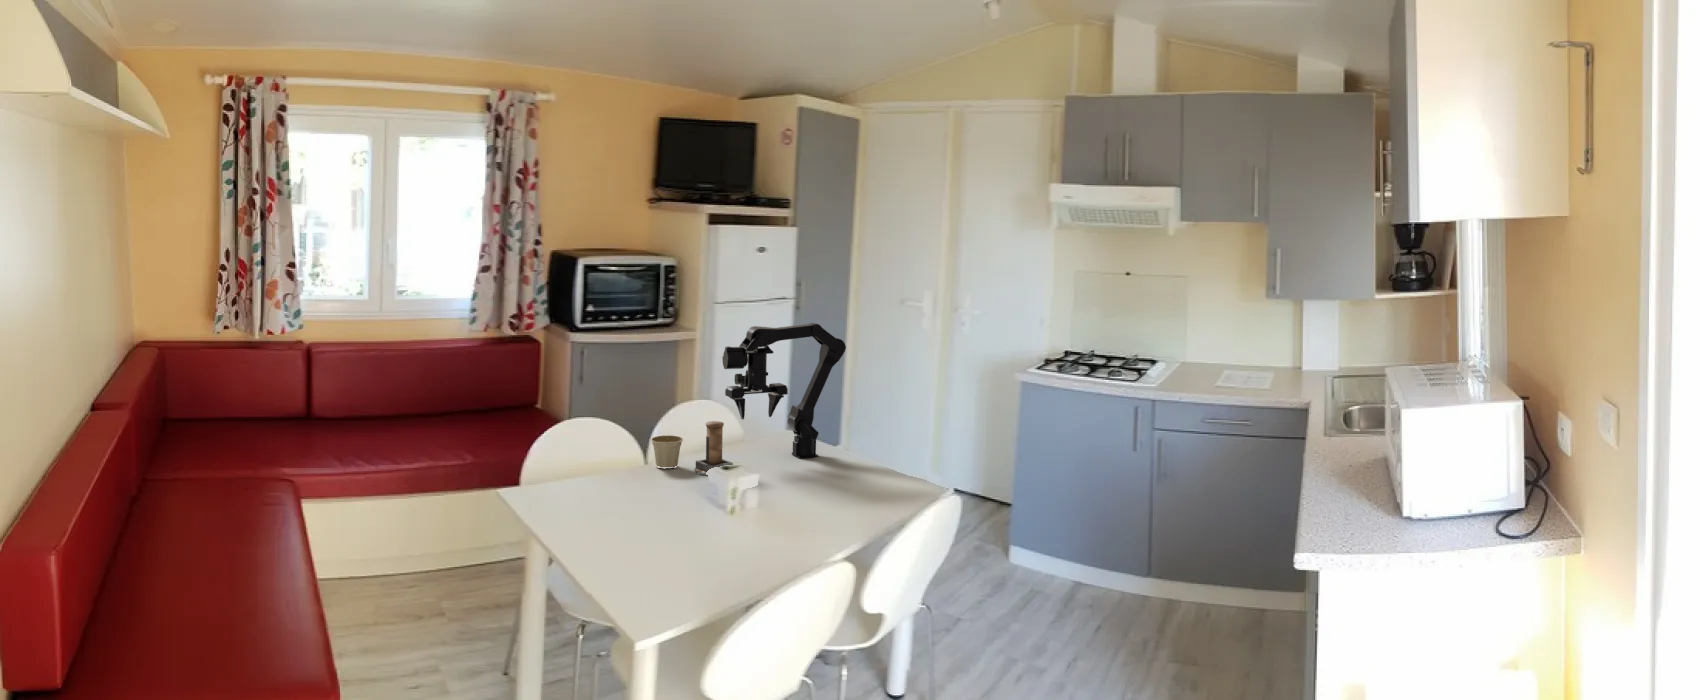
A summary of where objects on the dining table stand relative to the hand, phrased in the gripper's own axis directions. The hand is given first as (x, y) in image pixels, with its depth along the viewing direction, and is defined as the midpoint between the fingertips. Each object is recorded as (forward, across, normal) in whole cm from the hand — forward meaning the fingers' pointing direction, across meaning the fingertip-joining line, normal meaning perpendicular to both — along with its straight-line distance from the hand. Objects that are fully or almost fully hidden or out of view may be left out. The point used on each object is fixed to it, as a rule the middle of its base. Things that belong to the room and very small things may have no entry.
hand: (756, 418), depth 315 cm
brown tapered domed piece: (+12, +17, +8) cm, 22 cm away
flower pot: (+13, +28, -2) cm, 31 cm away
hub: (+13, +17, +8) cm, 23 cm away
